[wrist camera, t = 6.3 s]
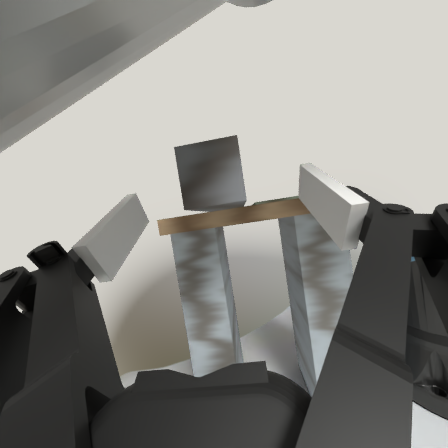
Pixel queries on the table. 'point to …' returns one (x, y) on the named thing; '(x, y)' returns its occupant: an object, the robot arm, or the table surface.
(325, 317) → the bench
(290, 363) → the table surface
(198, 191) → the dark grey bar
